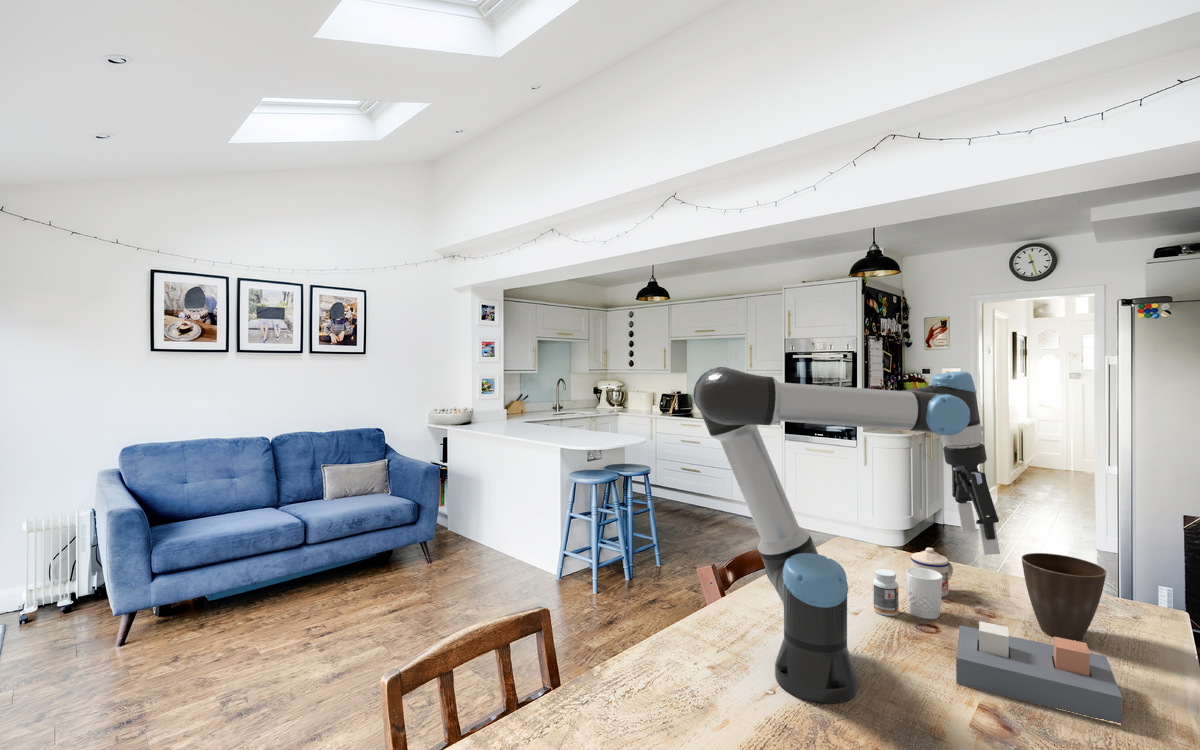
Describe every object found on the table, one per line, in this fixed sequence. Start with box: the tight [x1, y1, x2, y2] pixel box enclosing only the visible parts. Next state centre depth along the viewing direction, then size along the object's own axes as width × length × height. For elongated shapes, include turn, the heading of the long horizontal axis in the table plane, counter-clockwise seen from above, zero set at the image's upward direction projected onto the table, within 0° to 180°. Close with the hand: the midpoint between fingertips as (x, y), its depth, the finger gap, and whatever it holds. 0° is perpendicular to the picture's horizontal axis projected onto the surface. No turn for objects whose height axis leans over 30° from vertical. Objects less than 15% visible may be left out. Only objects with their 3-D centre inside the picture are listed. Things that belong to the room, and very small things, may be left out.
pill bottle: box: [872, 568, 900, 617], centre depth 142 cm, size 6×6×10 cm
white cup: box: [905, 567, 943, 620], centre depth 141 cm, size 8×8×10 cm
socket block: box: [955, 624, 1123, 724], centre depth 111 cm, size 16×24×5 cm, turn 56°
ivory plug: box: [978, 620, 1010, 658], centre depth 114 cm, size 5×5×6 cm
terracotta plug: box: [1053, 637, 1091, 677], centre depth 107 cm, size 5×5×6 cm
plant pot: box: [1021, 552, 1107, 641], centre depth 130 cm, size 15×15×16 cm
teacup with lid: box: [910, 547, 954, 598], centre depth 154 cm, size 12×9×12 cm
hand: (979, 542), depth 122 cm, fingers open, 13 cm apart
